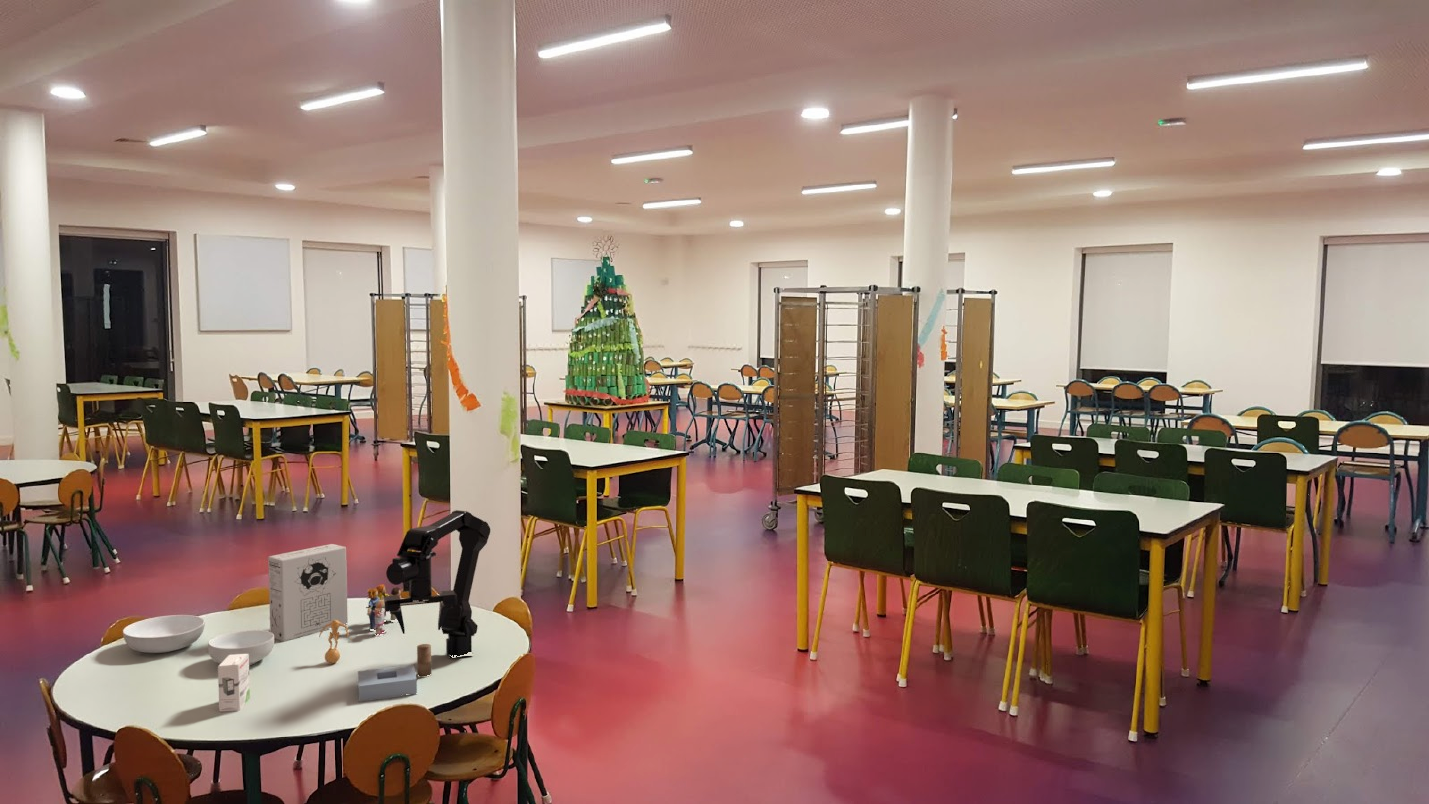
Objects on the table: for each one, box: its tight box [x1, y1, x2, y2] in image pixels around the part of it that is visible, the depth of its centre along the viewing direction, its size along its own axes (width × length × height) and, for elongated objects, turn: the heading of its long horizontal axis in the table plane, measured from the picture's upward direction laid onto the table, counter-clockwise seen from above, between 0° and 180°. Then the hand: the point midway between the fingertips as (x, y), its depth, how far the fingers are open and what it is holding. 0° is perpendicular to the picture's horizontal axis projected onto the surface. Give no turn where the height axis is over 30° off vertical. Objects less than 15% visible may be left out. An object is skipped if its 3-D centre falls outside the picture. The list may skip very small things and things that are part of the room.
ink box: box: [217, 654, 251, 712], centre depth 238 cm, size 9×5×12 cm, turn 10°
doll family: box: [365, 583, 402, 635], centre depth 299 cm, size 21×10×13 cm, turn 179°
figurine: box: [318, 619, 350, 664], centre depth 269 cm, size 8×6×12 cm
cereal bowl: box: [207, 629, 275, 667], centre depth 267 cm, size 17×17×7 cm
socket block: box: [357, 664, 418, 702], centre depth 249 cm, size 14×11×4 cm
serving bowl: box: [122, 614, 206, 654], centre depth 279 cm, size 21×21×7 cm
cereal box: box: [267, 543, 349, 642], centre depth 295 cm, size 22×8×25 cm, turn 144°
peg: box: [416, 643, 432, 676], centre depth 260 cm, size 4×4×8 cm
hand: (421, 631), depth 259 cm, fingers open, 9 cm apart
